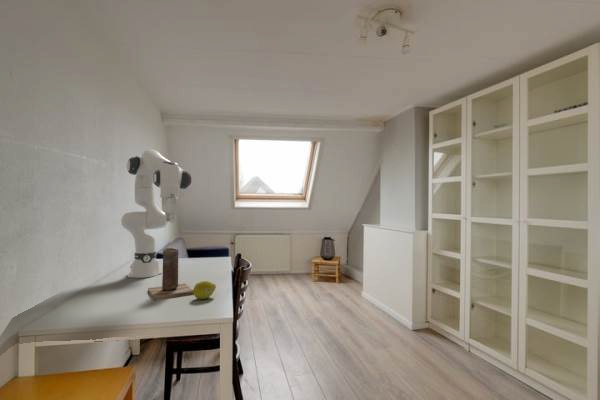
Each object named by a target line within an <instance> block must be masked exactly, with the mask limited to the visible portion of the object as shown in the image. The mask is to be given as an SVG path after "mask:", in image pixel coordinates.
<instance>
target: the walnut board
mask: <svg viewBox="0 0 600 400" xmlns="http://www.w3.org/2000/svg"><path fill="white" fill-rule="evenodd" d="M147 291H148V293H149V296H151V298H152V300H153V301H157V299H159V300H163V299H164V298H165V299H171V297H172V298H177V297H184V296H190V295H194V294H193V292H192V291H193V288H191V287H190V286H189V285H188V284H187V283H184V282H183V283H178V287H177V288H176V289H173V290H162V285H161V286H154V287H148V288H147Z"/></svg>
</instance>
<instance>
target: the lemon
mask: <svg viewBox="0 0 600 400" xmlns="http://www.w3.org/2000/svg"><path fill="white" fill-rule="evenodd" d="M216 287H217V286H216V284H214V283H212V282H211V281H208V280H204V281H200V282H197V283H196V284H195V285H194V286H193V288H192V290H193V291H192V292H193V294H192V295H194V297H195V298H196V299H198V300H206V299H208V298H210V297H211V296H212V295H213V294H214V291H215V290H216Z"/></svg>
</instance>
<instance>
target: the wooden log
mask: <svg viewBox="0 0 600 400" xmlns="http://www.w3.org/2000/svg"><path fill="white" fill-rule="evenodd" d="M161 279H162V281H161V283H162V284H161V286H162V290H173V289H176V288H177V287H178V284H179V249H177V248H173V247H172V248H169V247H167V248H163V249H162V278H161Z"/></svg>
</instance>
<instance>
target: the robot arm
mask: <svg viewBox="0 0 600 400" xmlns="http://www.w3.org/2000/svg"><path fill="white" fill-rule="evenodd" d="M126 168H127V172H128V173H129V174H130V175H134V176H135V179H134V202H135V204H137V206H139V207H142V208H144V209H145V211H131V212H125V213H124V214H123V215H122V218H121V220H120V221H121V225H122V227H123V229H124V230H126V231H128V232H129V233H130V234H131V235H132V237H133V239H134V248H135V252H134V255H133V256H134V260H133V262H132V263H131V264H130V267H129V268H130V272H129V273H128V276H127V277H128V278H137V279H138V278H139V279H140V278H142V279H143V278H151V277H156V276H158V275H163V271H161V270H160V261H159V259H157V251H156V238H155V237H153V236H152V235H149V234H147V233H145V230H159V229H163V228H165V227H166V226H167V225H168V223H169V222H170V223H173V224H174V223H175V218H176V214H178V213H179V200H178V198H180V193H181V192H180V189H182V190H186V189H187V188H189V187H190V186H191V184H192V176H191V174H190V172H189V171H188V170H187V169H183V168H181V167H180V166H179V163H177V162H176V161H175V162H174V161H171V160H169V159H167V158H166V157H164V155H162V154H161V153H160V152H159V151H157V150H155V149H153V148H149V149H145V150H144V151H143V152H142V155H141V156H138V155H136V156H132V157H129V159H128V161H127V162H126ZM155 186H156V187H157V188H159V189H160V195H159V196H160V198H161V208H159V206H158V205H157V203H156V197H155Z"/></svg>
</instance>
